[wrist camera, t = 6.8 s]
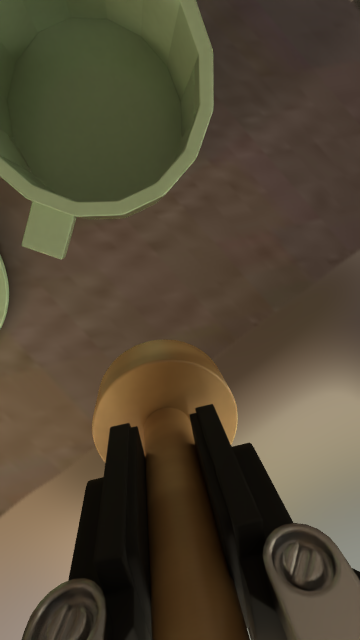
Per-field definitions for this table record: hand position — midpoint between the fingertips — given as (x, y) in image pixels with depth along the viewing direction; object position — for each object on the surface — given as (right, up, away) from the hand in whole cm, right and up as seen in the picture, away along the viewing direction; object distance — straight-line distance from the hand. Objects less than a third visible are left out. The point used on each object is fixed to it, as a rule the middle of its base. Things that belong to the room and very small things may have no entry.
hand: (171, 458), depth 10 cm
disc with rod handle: (0, +1, +3) cm, 4 cm away
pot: (-6, +19, +14) cm, 24 cm away
